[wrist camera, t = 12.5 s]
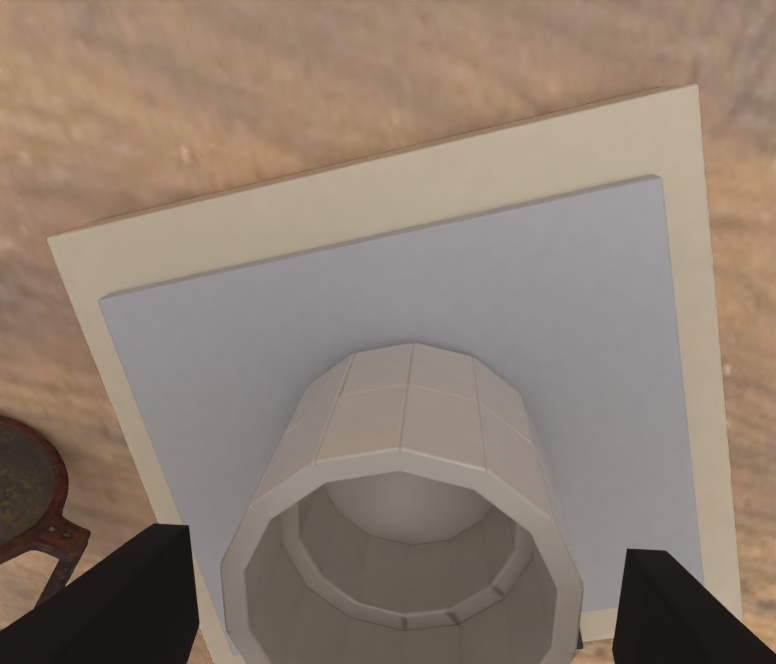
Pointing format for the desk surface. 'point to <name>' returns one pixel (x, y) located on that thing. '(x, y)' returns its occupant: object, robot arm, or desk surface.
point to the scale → (438, 325)
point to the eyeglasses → (36, 503)
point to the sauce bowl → (405, 525)
